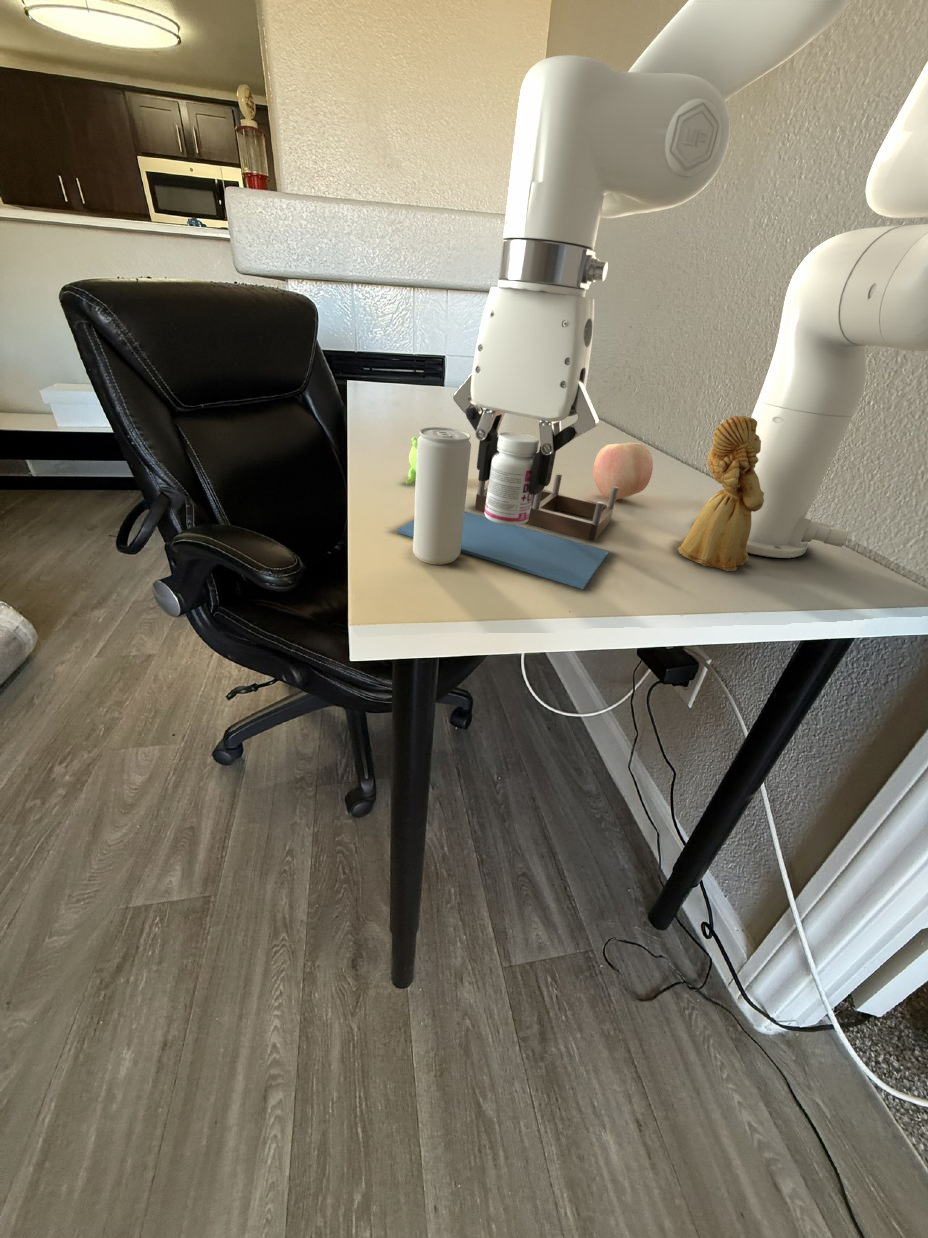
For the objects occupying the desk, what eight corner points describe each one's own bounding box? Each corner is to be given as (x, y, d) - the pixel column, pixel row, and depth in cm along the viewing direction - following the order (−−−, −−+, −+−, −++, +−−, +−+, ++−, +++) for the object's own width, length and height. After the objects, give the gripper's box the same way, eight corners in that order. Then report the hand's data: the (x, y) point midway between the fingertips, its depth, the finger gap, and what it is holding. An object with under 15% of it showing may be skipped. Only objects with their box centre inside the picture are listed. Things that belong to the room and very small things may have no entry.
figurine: (756, 575, 56) (820, 431, 48) (685, 566, 56) (736, 421, 48) (731, 546, 63) (783, 415, 55) (667, 538, 63) (710, 407, 55)
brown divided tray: (610, 521, 66) (619, 486, 64) (593, 541, 60) (603, 504, 57) (500, 493, 71) (504, 460, 69) (474, 509, 65) (478, 473, 63)
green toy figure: (405, 484, 71) (407, 441, 68) (406, 472, 75) (408, 432, 72) (450, 488, 71) (454, 445, 68) (449, 476, 76) (452, 435, 73)
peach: (636, 493, 78) (652, 438, 73) (649, 511, 71) (666, 451, 67) (584, 487, 78) (596, 432, 73) (591, 504, 71) (605, 444, 67)
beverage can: (417, 567, 50) (424, 439, 43) (408, 546, 54) (413, 425, 47) (465, 565, 51) (478, 440, 45) (453, 545, 55) (463, 427, 49)
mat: (608, 554, 57) (609, 550, 57) (583, 589, 49) (584, 585, 49) (442, 508, 64) (442, 505, 64) (397, 532, 56) (397, 529, 56)
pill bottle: (526, 529, 53) (541, 445, 48) (480, 522, 53) (491, 437, 49) (530, 514, 57) (544, 435, 52) (487, 507, 57) (498, 428, 53)
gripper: (653, 286, 44) (601, 495, 53) (473, 268, 50) (455, 460, 59) (635, 278, 38) (580, 515, 47) (434, 259, 44) (421, 474, 53)
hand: (511, 483), depth 53 cm, fingers closed on pill bottle, 4 cm apart
